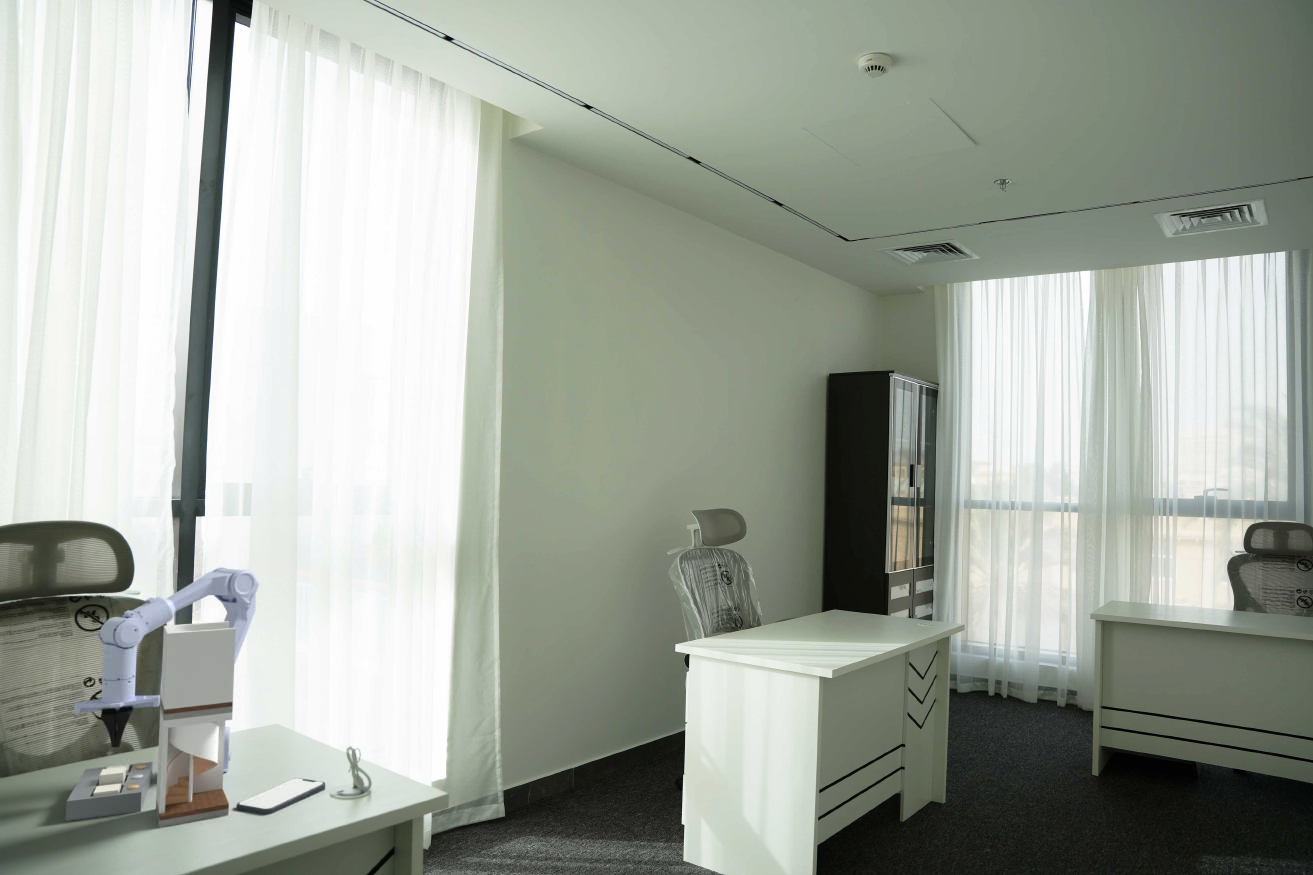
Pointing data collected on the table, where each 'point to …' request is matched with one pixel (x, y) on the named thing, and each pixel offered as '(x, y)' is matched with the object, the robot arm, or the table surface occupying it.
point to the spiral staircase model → (194, 721)
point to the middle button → (112, 776)
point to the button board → (127, 801)
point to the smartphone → (281, 796)
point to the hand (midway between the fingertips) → (116, 745)
